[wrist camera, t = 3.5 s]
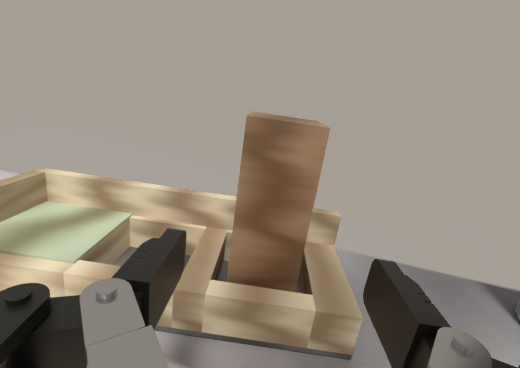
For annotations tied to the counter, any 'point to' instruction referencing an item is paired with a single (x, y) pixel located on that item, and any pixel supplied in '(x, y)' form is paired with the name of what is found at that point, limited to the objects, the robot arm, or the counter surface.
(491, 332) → the counter surface
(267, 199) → the walnut block
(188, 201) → the box
